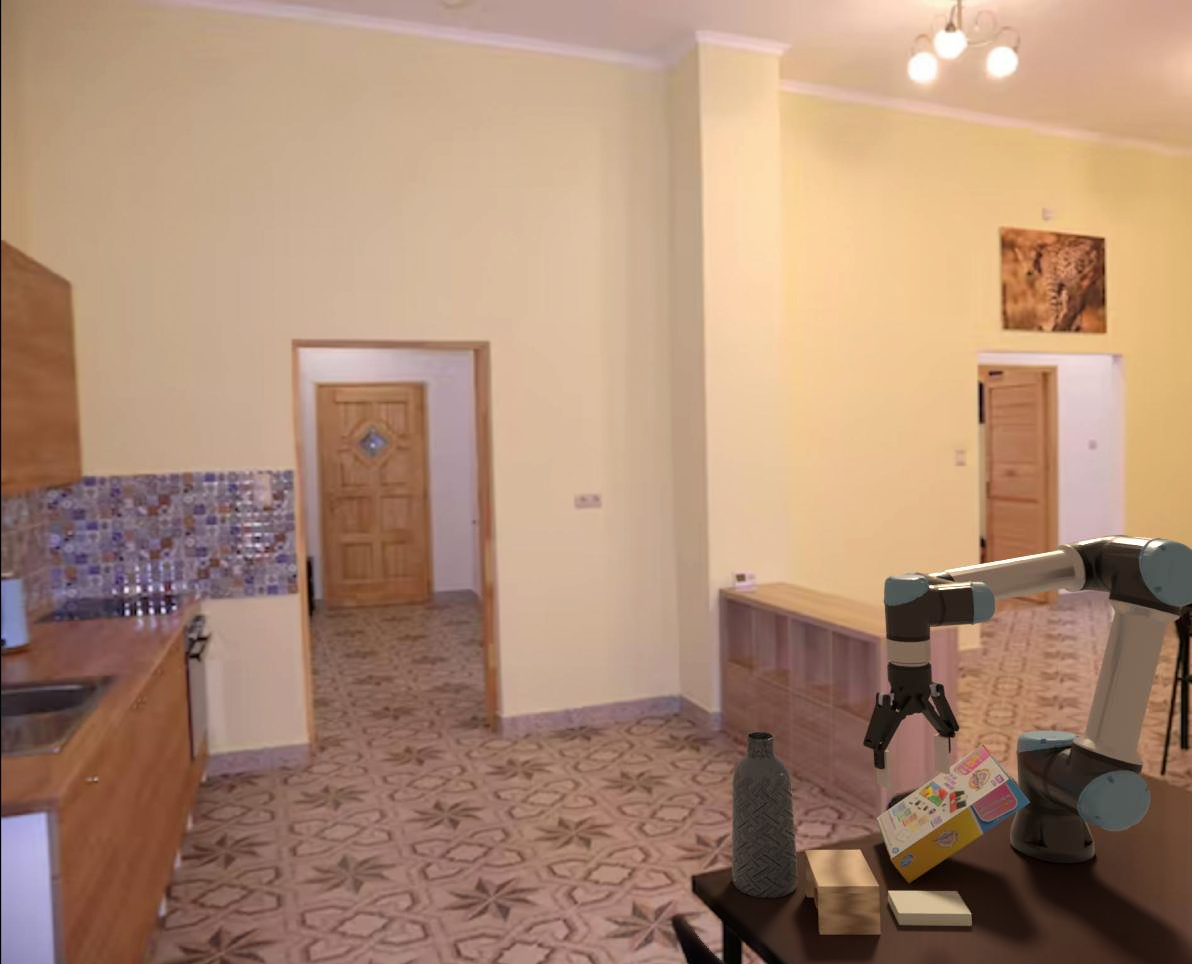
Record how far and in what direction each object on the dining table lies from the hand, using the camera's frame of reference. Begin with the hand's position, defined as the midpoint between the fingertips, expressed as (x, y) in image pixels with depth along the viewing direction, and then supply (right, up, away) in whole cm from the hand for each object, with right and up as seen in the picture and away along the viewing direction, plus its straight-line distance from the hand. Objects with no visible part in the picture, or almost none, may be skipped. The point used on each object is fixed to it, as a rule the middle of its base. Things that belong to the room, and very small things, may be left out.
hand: (914, 778), depth 160 cm
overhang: (-14, -22, -4) cm, 27 cm away
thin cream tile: (+1, -22, -5) cm, 23 cm away
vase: (-25, -23, +8) cm, 35 cm away
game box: (+1, -19, +16) cm, 25 cm away
